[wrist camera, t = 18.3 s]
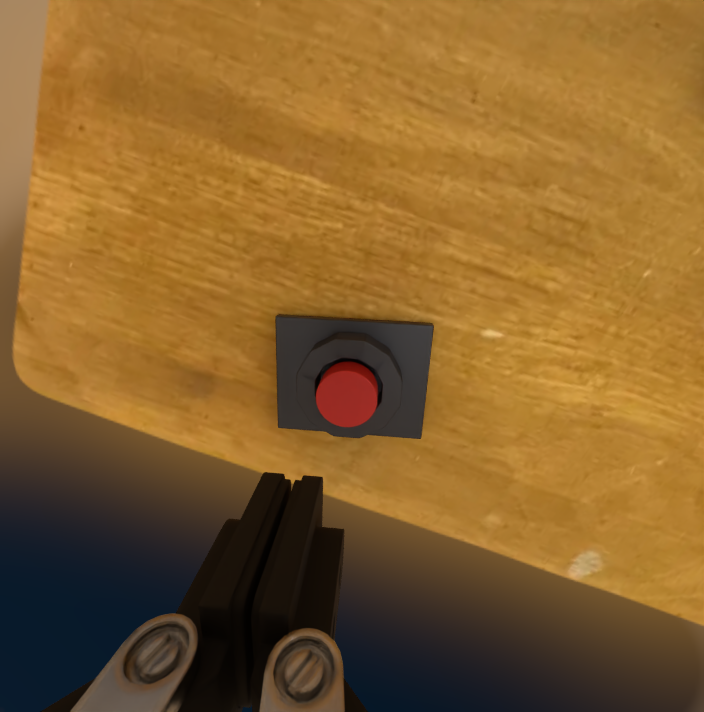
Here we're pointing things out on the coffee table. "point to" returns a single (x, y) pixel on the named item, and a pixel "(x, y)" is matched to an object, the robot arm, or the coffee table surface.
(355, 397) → the button
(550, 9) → the coffee table surface
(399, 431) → the button block
